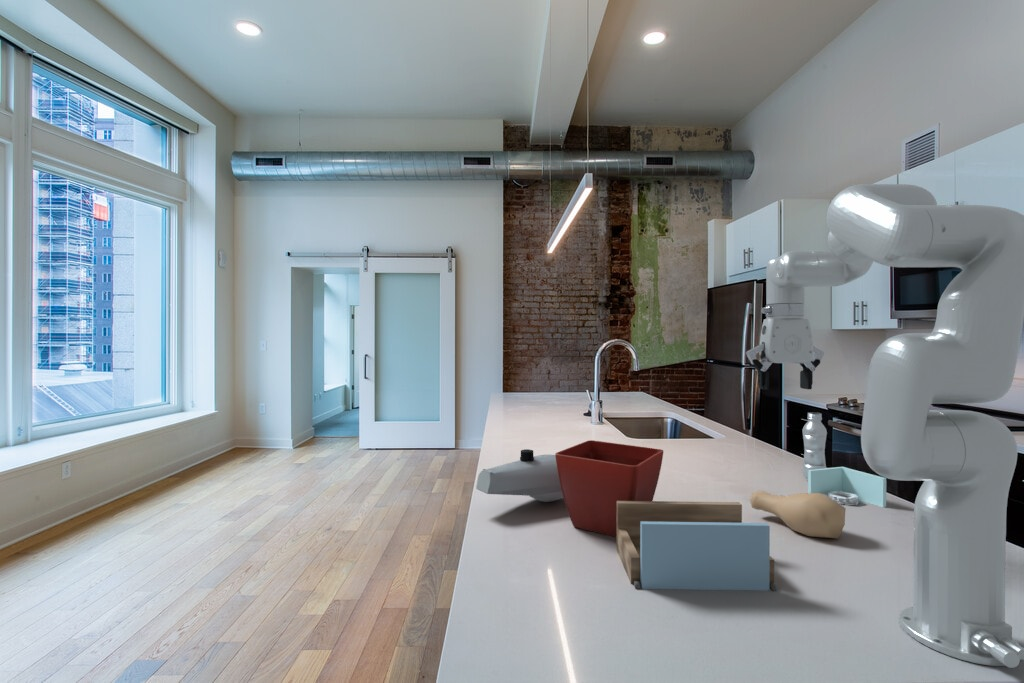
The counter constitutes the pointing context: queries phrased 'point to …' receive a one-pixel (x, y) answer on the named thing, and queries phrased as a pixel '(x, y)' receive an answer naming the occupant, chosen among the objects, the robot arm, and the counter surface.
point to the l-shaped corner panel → (848, 485)
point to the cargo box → (667, 512)
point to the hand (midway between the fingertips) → (784, 388)
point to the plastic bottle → (814, 443)
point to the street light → (524, 478)
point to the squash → (804, 512)
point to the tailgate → (704, 555)
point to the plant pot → (605, 481)
